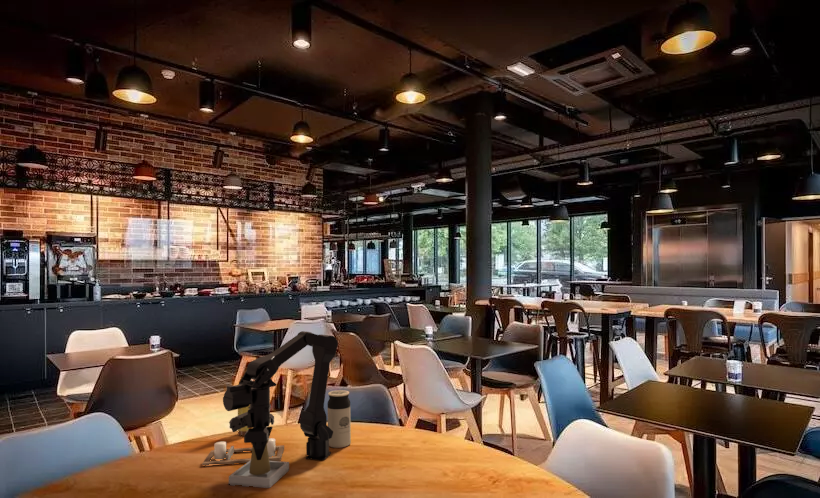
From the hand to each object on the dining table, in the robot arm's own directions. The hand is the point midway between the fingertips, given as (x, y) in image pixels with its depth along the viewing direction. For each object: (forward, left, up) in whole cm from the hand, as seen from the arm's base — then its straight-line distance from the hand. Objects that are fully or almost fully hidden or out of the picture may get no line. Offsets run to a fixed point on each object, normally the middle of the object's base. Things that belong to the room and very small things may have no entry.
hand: (260, 456), depth 145 cm
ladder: (+13, -14, -6) cm, 20 cm away
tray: (0, 0, -6) cm, 6 cm away
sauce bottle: (+25, -36, -6) cm, 45 cm away
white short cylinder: (+20, -12, -6) cm, 24 cm away
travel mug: (-14, -30, -6) cm, 34 cm away
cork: (0, 0, -4) cm, 4 cm away
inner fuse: (+6, -17, -6) cm, 19 cm away
